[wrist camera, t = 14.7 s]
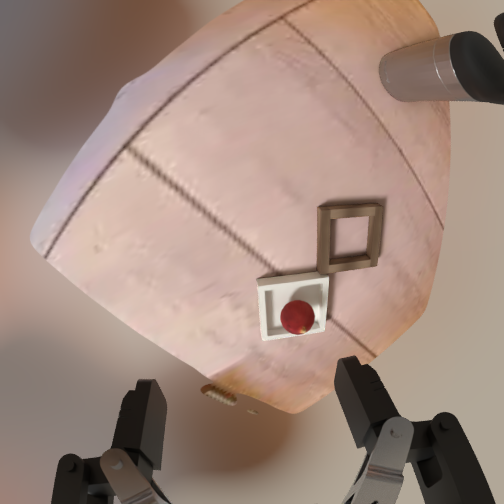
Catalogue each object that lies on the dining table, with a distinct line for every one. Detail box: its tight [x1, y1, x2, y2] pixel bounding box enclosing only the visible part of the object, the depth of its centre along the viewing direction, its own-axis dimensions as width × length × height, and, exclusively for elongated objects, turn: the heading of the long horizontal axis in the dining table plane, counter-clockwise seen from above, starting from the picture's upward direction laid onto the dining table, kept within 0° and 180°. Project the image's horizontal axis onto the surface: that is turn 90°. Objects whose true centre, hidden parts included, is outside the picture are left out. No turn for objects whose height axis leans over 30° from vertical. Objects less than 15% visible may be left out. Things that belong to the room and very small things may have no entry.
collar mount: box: [317, 203, 383, 274], centre depth 45 cm, size 11×11×2 cm
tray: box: [256, 271, 329, 341], centre depth 49 cm, size 12×12×2 cm
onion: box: [280, 300, 315, 335], centre depth 46 cm, size 6×6×8 cm
